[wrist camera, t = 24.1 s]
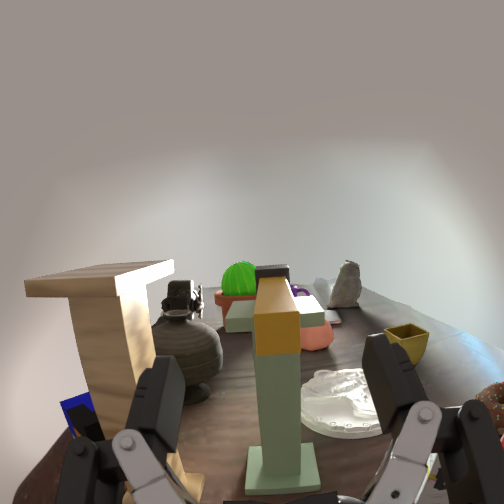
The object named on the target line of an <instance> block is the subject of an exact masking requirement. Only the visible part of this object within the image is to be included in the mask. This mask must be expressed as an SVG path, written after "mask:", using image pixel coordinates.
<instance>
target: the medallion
mask: <svg viewBox="0 0 504 504" xmlns="http://www.w3.org/2000/svg"><path fill="white" fill-rule="evenodd" d="M301 422H302V423H303V424H304V425H305V426H307V427H308V428H310V429H311V430H313V431H315V432H318V433H320V434H323V435H326V436H330V437H335V438H343V439H359V438H367V437H372V436H376V435H380V434H382V430H381V427H380V423H379V420H378V417H377V413H376V410H375V407H374V404H373V400H372V397H371V394H370V391H369V388H368V385H367V382H366V379H365V376H364V373H363V369H362V371H361V369H359V368H357V369H344V370H343V372H342V370H340V371H331V370H319V371H316V372H315V373H314V378H312V379H310V380H309V382H307V383H305V384H303V385H302V388H301Z"/></svg>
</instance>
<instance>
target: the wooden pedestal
mask: <svg viewBox="0 0 504 504" xmlns="http://www.w3.org/2000/svg"><path fill="white" fill-rule="evenodd" d="M173 272H174V270H173V260H161V261H148V262H132V263H117V264H104V265H96V266H91V267H86V268H81V269H76V270H71V271H66V272H61V273H56V274H51V275H46V276H41V277H37V278H32V279H27V280H24V283H25V291H26V297H68V300H69V306H70V312H71V317H72V323H73V328H74V333H75V338H76V343H77V347H78V352H79V356H80V360H81V364H82V368H83V371H84V375H85V379H86V382H87V386H88V389H89V393H90V396H91V399H92V402H93V405H94V408H95V411H96V414H97V417H98V420H99V423H100V426H101V428H102V431H103V434H104V436H105V439H106V440H110V439H113V438H114V437H115V435H116V434H117V433H118V432H120V431H122V430H124V428H125V426H126V422H127V418H128V414H129V411H130V407H131V403H132V400H133V397H134V393H135V389H136V386H137V382H138V379H139V376H140V375H141V374H142V372H143V371H144V370H145V368H152V366H153V362H154V359H155V357H156V354H155V348H154V342H153V336H152V330H151V324H150V317H149V310H148V302H147V296H146V286H145V285H146V284H148V283H150V282H153V281H155V280H157V279H160V278H162V277H165V276H167V275H169V274H172V273H173ZM166 461H167V462H168V464H169V465H170V467H171V468H172V470H173V471H174V473H175V474H176V476H177V477H178V478H179V480H180V481H181V483H182V484H183V485H184V487H185V488H186V489H187V491H188V492H189V493H190V494H191V495H192V497H193V498H194V499H195V500H196V501H197V502H198V503H199V502H200V498H201V494H202V491H203V487H204V483H205V478H204V474H194V473H184V470H183V467H182V463H181V460H180V457H179V453H178V450H177V449H176V453H167V460H166ZM125 485H126V487H127V491H126V493H125V495H124V497H123V500H122V504H136V502H135V501H134V499H133V497H132V494H131V492H132V491H133V489H132V487H131V485H130V483H129V481H125Z"/></svg>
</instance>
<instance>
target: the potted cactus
mask: <svg viewBox="0 0 504 504" xmlns="http://www.w3.org/2000/svg"><path fill="white" fill-rule="evenodd" d="M214 297H215V304H216V305H218V306H221V307H222V315H223V325H224V328H225V317H226V315H227V313H228V311H229V309H230V307H231V305H232V303H233V301H248V300H256V297H257V296H256V282H255V266H254V265H252V264H250V263H248V262H245V261H243V262H241V263H236V264H233V265H232V266H230V267H229V268H228V269H227V270H226V272H225V273H224V275H223V279H222V290H218V291H216V292H215V293H214Z"/></svg>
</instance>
